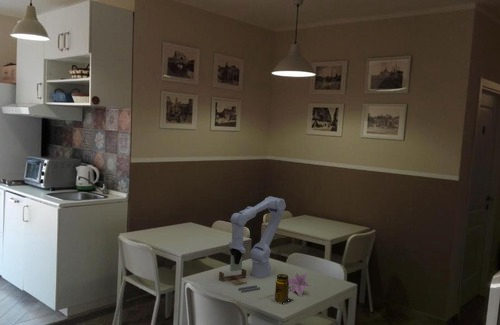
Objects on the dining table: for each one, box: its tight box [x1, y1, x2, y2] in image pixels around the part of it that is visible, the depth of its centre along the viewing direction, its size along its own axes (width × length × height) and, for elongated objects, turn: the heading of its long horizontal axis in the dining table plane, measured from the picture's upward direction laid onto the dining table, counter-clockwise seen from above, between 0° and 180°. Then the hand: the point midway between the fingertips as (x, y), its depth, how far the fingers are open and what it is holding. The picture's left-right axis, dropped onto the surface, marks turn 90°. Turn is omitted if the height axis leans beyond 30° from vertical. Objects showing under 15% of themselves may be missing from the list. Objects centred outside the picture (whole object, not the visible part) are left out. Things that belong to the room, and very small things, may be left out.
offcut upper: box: [231, 279, 248, 286], centre depth 226 cm, size 6×4×1 cm
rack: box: [218, 268, 247, 282], centre depth 229 cm, size 14×14×6 cm
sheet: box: [229, 254, 243, 272], centre depth 228 cm, size 6×1×8 cm, turn 119°
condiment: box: [271, 273, 295, 305], centre depth 210 cm, size 7×8×12 cm
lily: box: [288, 271, 311, 297], centre depth 221 cm, size 12×12×10 cm
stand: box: [238, 284, 261, 294], centre depth 217 cm, size 12×8×2 cm, turn 120°
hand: (236, 263), depth 228 cm, fingers closed on sheet, 1 cm apart
